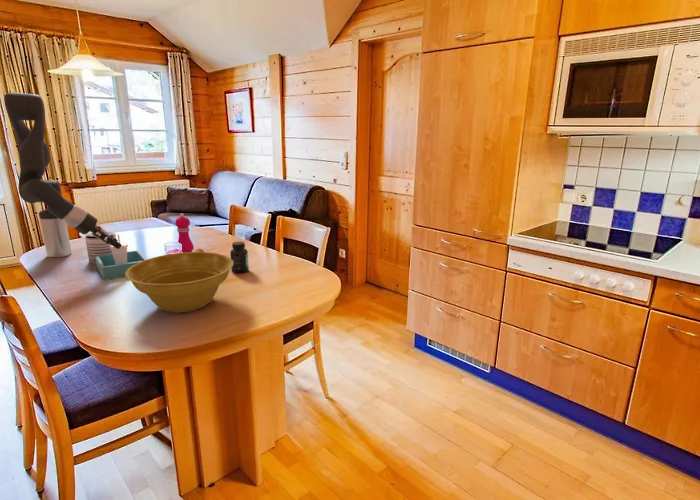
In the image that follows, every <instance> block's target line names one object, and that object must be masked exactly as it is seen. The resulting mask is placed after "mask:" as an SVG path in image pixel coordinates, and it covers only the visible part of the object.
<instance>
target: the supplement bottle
mask: <svg viewBox="0 0 700 500" xmlns="http://www.w3.org/2000/svg"><path fill="white" fill-rule="evenodd" d="M245 244H246V243H245V242H244V241H233V242H232V243H231V245H232V246H231V247H232V249H231V250H230V251H229V253H230V257H229V258H231V259H232V260H233V262H234V264H233V267H232V268H231V269H230V270H231V273H232V274H235V275H236V274H237V275H242V274H247V273H248V272H249V269H250V267H249V252H248V250H247V248H246V245H245Z"/></svg>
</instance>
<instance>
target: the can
mask: <svg viewBox="0 0 700 500" xmlns="http://www.w3.org/2000/svg"><path fill="white" fill-rule="evenodd" d="M107 233H109V235H111V236H112V237H114V238H115V239H117V237H116V235H117V234H116V232H110V231H107ZM83 235H84V234H83ZM84 237H85V243H86V244H85V245H86V250H87V258H88V261H89V263H91V264H96V265H97V263H96V257H95V256H101V255H108V254H112V251H111V249H110V244H107V243H106V242H104V241H101V240H100V239H99V238H97V237H95V236H93V234H92V232H89V233H87V234H85V235H84ZM106 241H107V240H106Z"/></svg>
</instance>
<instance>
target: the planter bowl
mask: <svg viewBox="0 0 700 500" xmlns="http://www.w3.org/2000/svg"><path fill="white" fill-rule="evenodd" d="M146 259H147V260H144V261H141V262H139V263H137V264H135V265H133V266H131V267H130V268H129V269H128V270H127V271H126V273H125V276H126V277H125V278H126V279H127V280H129V281H130V282H131V283H132V285H133V286H134V288H135V289H136V290H137V291H138V292H141V293H143V294H144V295H147V296H148V298H149V299H150V301H152V303H153V304H154V305H155V306H156V307H158V308H159V309H160V310H163V311H166V312H168V313H189V312H193V311H197V310H198V309H202V308H203V307H205V306H206V305H207V304H209V303H210V302H212V300H213V298H214V297H215V295H216V293H217V291H218V289H219V287H220V285H221V284H223V282H225V281H226V279H228V278H227V277H228V276H229V273H230V270H231V268H232V267H233V264H234V262H233V260H232V259H231V257H229V256H228V255H224V254H220V253H216V252H208V251H207V252H205V251H204V252H194V251H192V252H185V253H179V252H177V253H170V254H164V255H159V256H155V257H154V256H153V257H150V258H146Z"/></svg>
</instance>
